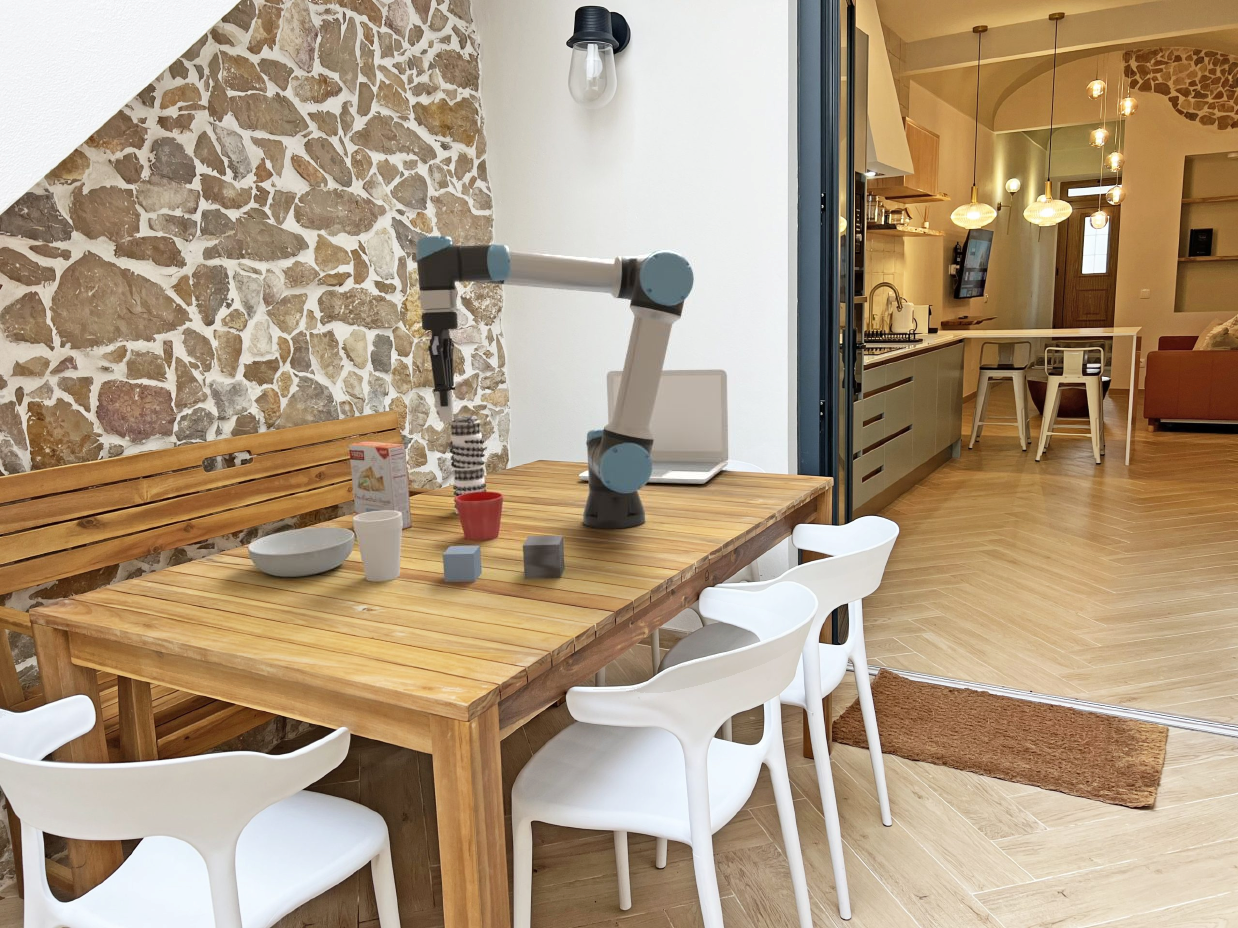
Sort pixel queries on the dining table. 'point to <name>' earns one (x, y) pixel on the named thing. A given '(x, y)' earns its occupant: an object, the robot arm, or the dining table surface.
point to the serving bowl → (302, 551)
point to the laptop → (684, 425)
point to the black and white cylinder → (467, 455)
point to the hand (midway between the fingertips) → (446, 420)
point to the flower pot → (480, 514)
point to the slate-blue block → (462, 563)
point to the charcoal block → (543, 557)
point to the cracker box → (380, 478)
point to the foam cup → (379, 543)
